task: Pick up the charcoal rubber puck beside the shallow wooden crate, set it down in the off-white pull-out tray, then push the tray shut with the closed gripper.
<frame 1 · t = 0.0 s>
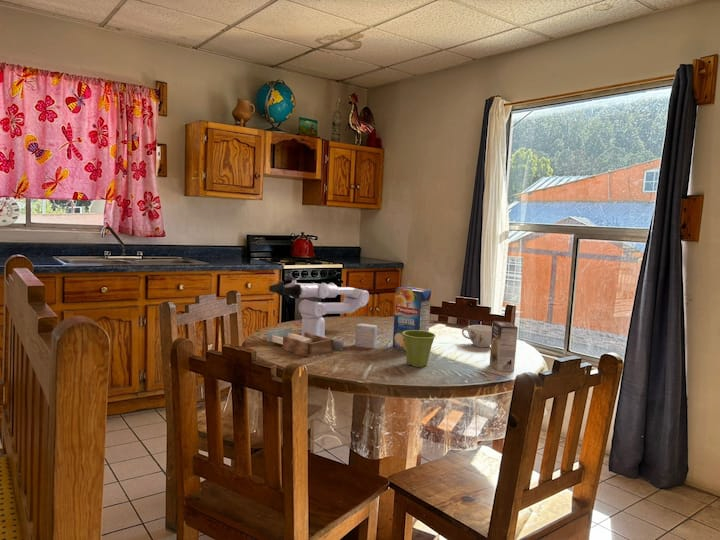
hand: (276, 289, 213), 22 cm above the table, tool horizontal, fingers open, 7 cm apart
juice carton: (410, 348, 220), on the table
tray: (291, 337, 214), point 3 cm above the table, slide at 8.0 cm
medicine box: (365, 347, 219), on the table
teacup: (478, 346, 230), on the table
shallow wooden crate: (305, 350, 209), on the table
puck: (336, 349, 213), on the table
plant pot: (417, 365, 196), on the table
coffee box: (501, 368, 197), on the table
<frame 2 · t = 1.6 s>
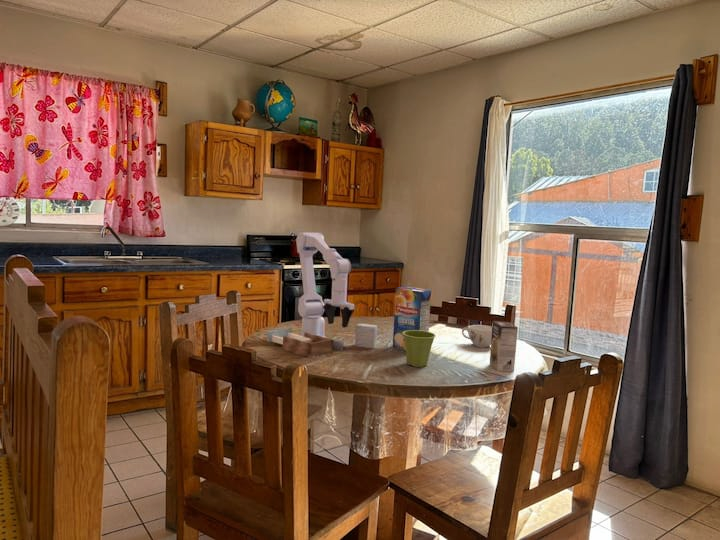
hand: (337, 325, 212), 9 cm above the table, tool pointing down, fingers open, 7 cm apart
nothing on the table moved.
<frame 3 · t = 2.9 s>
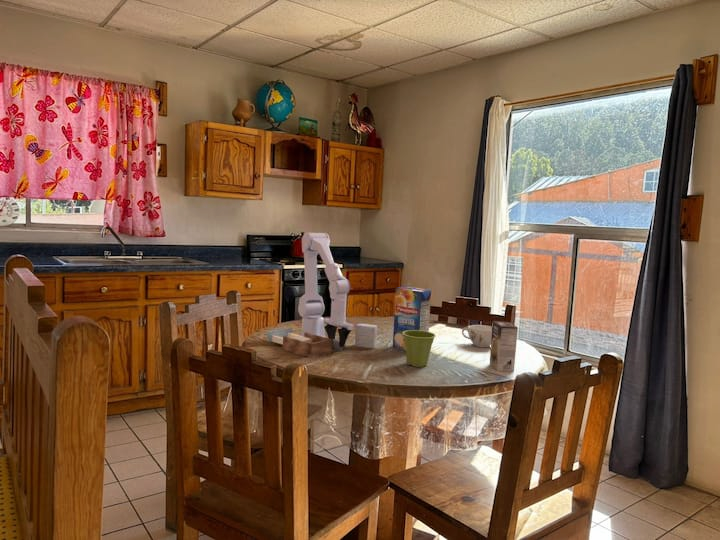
hand: (336, 345, 213), 2 cm above the table, tool pointing down, fingers closed on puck, 5 cm apart
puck: (336, 349, 213), on the table, touching gripper
everything else where it was.
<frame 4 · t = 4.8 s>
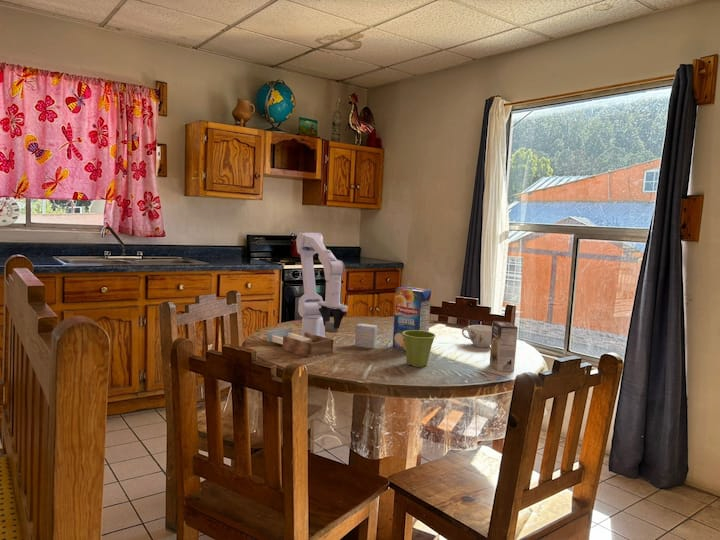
hand: (331, 327, 212), 9 cm above the table, tool pointing down, fingers closed on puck, 5 cm apart
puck: (331, 331, 212), point 7 cm above the table, touching gripper
everything else where it was.
when the fingers open (5 cm above the table, at t = 6.8 s): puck drops 1 cm, resting on tray.
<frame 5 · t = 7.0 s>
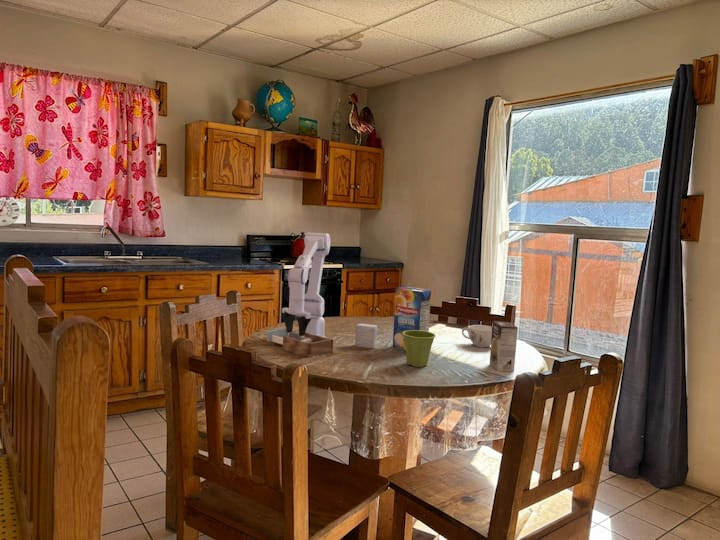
hand: (295, 334, 212), 5 cm above the table, tool pointing down, fingers open, 7 cm apart
tray: (291, 337, 214), point 3 cm above the table, slide at 8.0 cm, touching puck
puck: (295, 341, 213), point 2 cm above the table, touching tray
everything else where it was.
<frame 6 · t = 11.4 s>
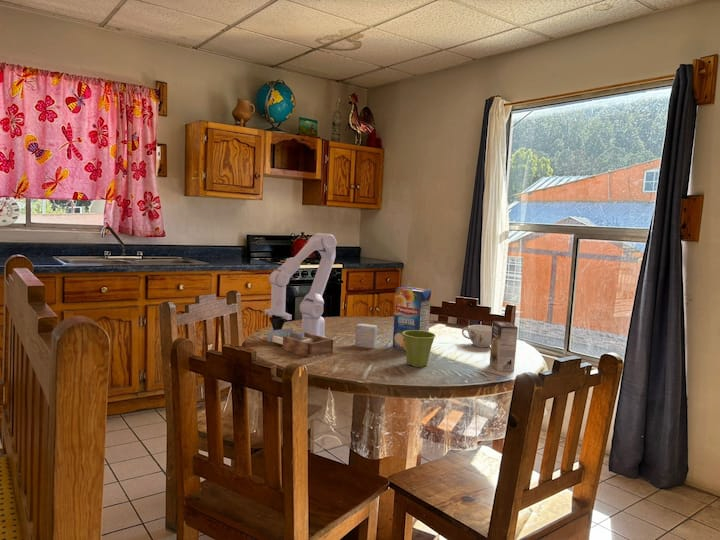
hand: (277, 334, 220), 3 cm above the table, tool pointing down, fingers closed
tray: (291, 337, 214), point 3 cm above the table, slide at 7.6 cm, touching gripper, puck
everything else where it was.
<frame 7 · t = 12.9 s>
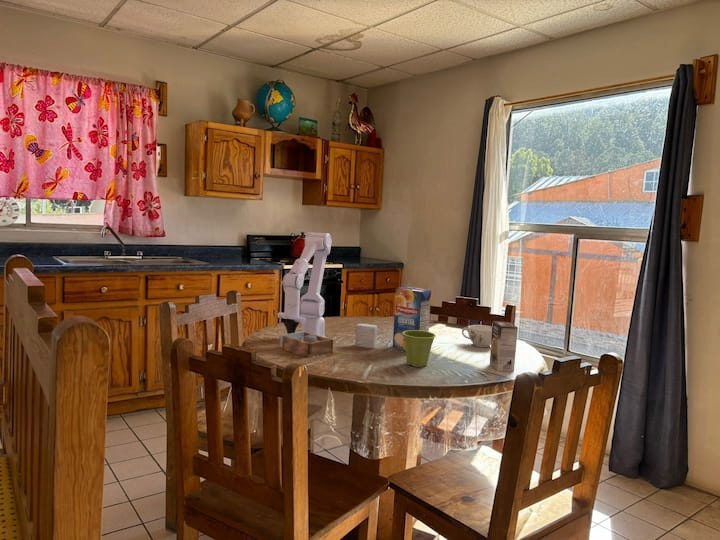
hand: (290, 338, 214), 3 cm above the table, tool pointing down, fingers closed
tray: (305, 341, 209), point 3 cm above the table, slide at -0.1 cm, touching gripper, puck
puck: (309, 345, 207), point 2 cm above the table, touching tray
everything else where it was.
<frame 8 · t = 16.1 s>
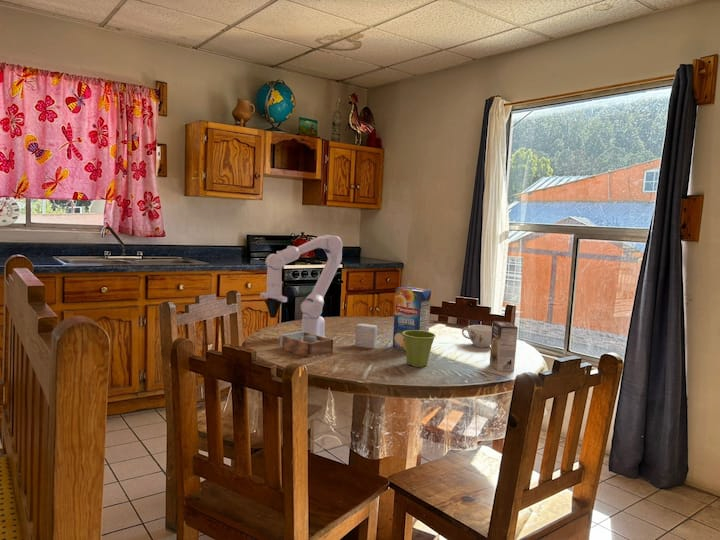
hand: (272, 317, 221), 9 cm above the table, tool pointing down, fingers closed
tray: (305, 341, 209), point 3 cm above the table, slide at 0.0 cm, touching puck
everything else where it was.
at the end: tray slide at 0.0 cm; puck inside the target area on the shallow wooden crate (0.7 cm from its centre), point 2.1 cm above the shallow wooden crate's base; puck touching tray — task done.
